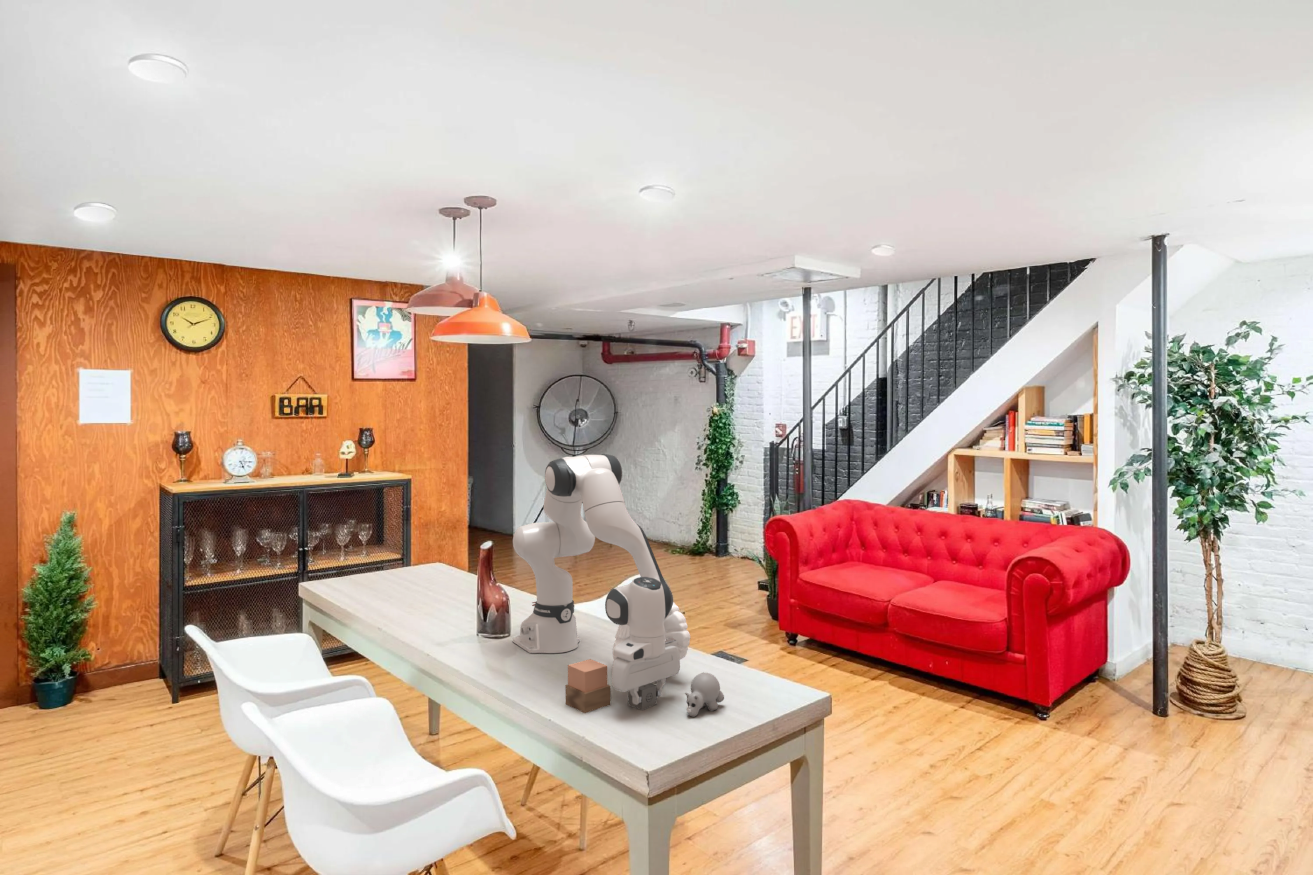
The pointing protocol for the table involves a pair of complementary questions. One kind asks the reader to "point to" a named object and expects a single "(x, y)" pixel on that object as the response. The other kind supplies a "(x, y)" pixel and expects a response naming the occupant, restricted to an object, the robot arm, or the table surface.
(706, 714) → the table surface
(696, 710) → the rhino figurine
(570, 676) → the terracotta top block
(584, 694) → the walnut base block
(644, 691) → the dice cube
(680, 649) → the decorative rooster
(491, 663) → the table surface
